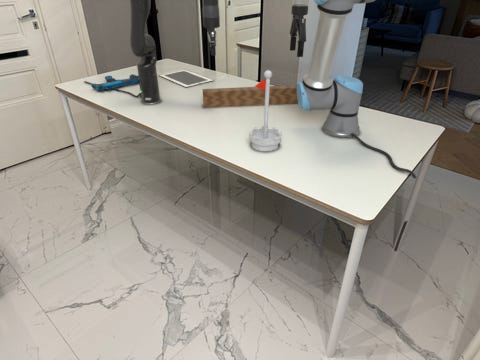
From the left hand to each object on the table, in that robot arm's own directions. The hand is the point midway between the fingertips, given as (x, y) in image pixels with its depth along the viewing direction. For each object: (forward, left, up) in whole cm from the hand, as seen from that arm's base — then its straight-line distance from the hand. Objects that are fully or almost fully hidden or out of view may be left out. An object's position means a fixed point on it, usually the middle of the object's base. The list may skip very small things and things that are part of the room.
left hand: (212, 53), depth 161 cm
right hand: (+27, +31, -1) cm, 41 cm away
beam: (+13, +15, -26) cm, 33 cm away
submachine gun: (-71, -10, -26) cm, 76 cm away
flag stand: (+47, -19, -26) cm, 57 cm away
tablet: (-48, +22, -26) cm, 59 cm away
